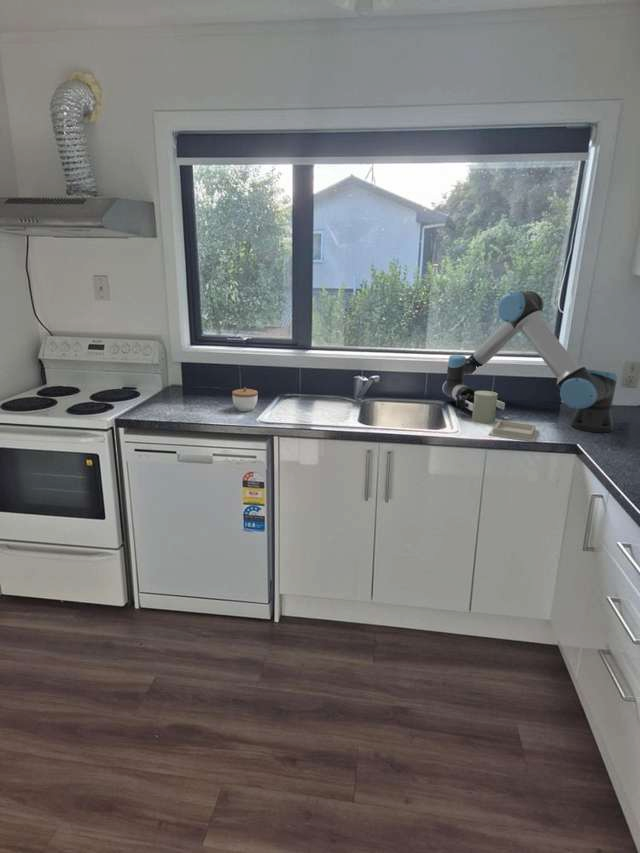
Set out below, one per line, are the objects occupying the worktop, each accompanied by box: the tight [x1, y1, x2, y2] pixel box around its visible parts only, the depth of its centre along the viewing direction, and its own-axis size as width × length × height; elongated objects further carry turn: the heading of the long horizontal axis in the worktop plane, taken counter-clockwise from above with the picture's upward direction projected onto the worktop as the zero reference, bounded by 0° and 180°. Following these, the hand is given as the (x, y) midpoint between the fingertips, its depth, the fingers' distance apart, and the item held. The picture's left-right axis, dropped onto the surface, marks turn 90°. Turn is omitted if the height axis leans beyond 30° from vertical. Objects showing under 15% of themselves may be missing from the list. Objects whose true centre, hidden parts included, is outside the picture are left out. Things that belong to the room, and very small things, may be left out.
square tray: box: [488, 419, 540, 443], centre depth 206 cm, size 16×16×2 cm
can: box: [471, 390, 499, 424], centre depth 221 cm, size 9×9×12 cm
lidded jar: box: [231, 387, 259, 412], centre depth 228 cm, size 11×11×9 cm
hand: (488, 407), depth 218 cm, fingers open, 13 cm apart
